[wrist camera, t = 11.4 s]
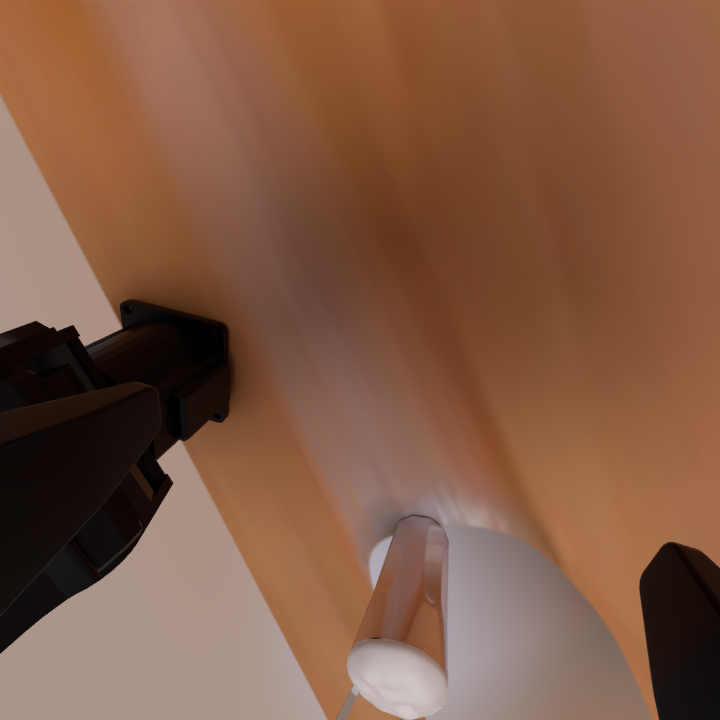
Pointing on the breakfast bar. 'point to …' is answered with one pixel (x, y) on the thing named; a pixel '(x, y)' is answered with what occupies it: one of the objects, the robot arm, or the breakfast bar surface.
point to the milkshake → (405, 627)
